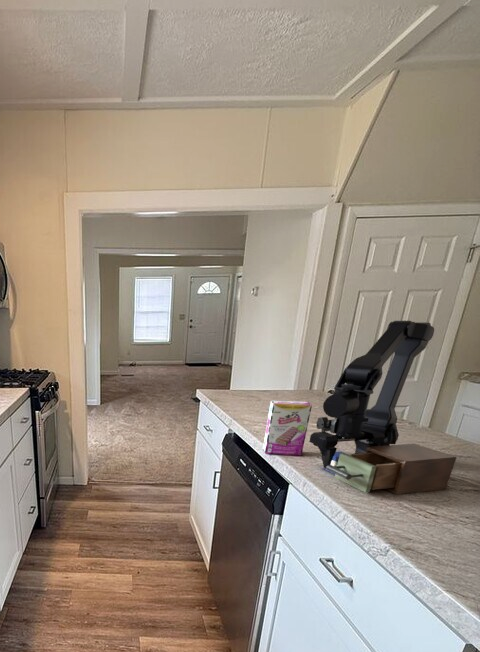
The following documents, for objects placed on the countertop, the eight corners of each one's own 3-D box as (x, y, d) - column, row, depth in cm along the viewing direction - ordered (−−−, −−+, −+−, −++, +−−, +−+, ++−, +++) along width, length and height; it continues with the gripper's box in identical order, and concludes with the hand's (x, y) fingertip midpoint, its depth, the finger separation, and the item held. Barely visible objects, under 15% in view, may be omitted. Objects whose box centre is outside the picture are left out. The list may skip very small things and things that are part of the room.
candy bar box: (265, 454, 128) (272, 403, 121) (262, 449, 132) (269, 400, 126) (302, 456, 125) (312, 404, 119) (298, 451, 130) (308, 400, 124)
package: (323, 468, 115) (326, 452, 113) (337, 467, 116) (340, 451, 114) (341, 477, 109) (345, 460, 107) (355, 476, 109) (360, 459, 108)
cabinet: (395, 494, 98) (405, 461, 95) (359, 477, 109) (366, 447, 106) (445, 489, 101) (457, 456, 97) (405, 472, 111) (413, 443, 108)
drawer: (348, 494, 96) (354, 468, 94) (318, 478, 106) (323, 454, 103) (412, 488, 99) (420, 462, 97) (378, 473, 109) (384, 449, 106)
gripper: (360, 404, 115) (348, 456, 121) (301, 407, 112) (292, 460, 118) (393, 412, 105) (378, 468, 110) (330, 416, 102) (318, 474, 107)
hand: (340, 467), depth 112 cm, fingers open, 9 cm apart
